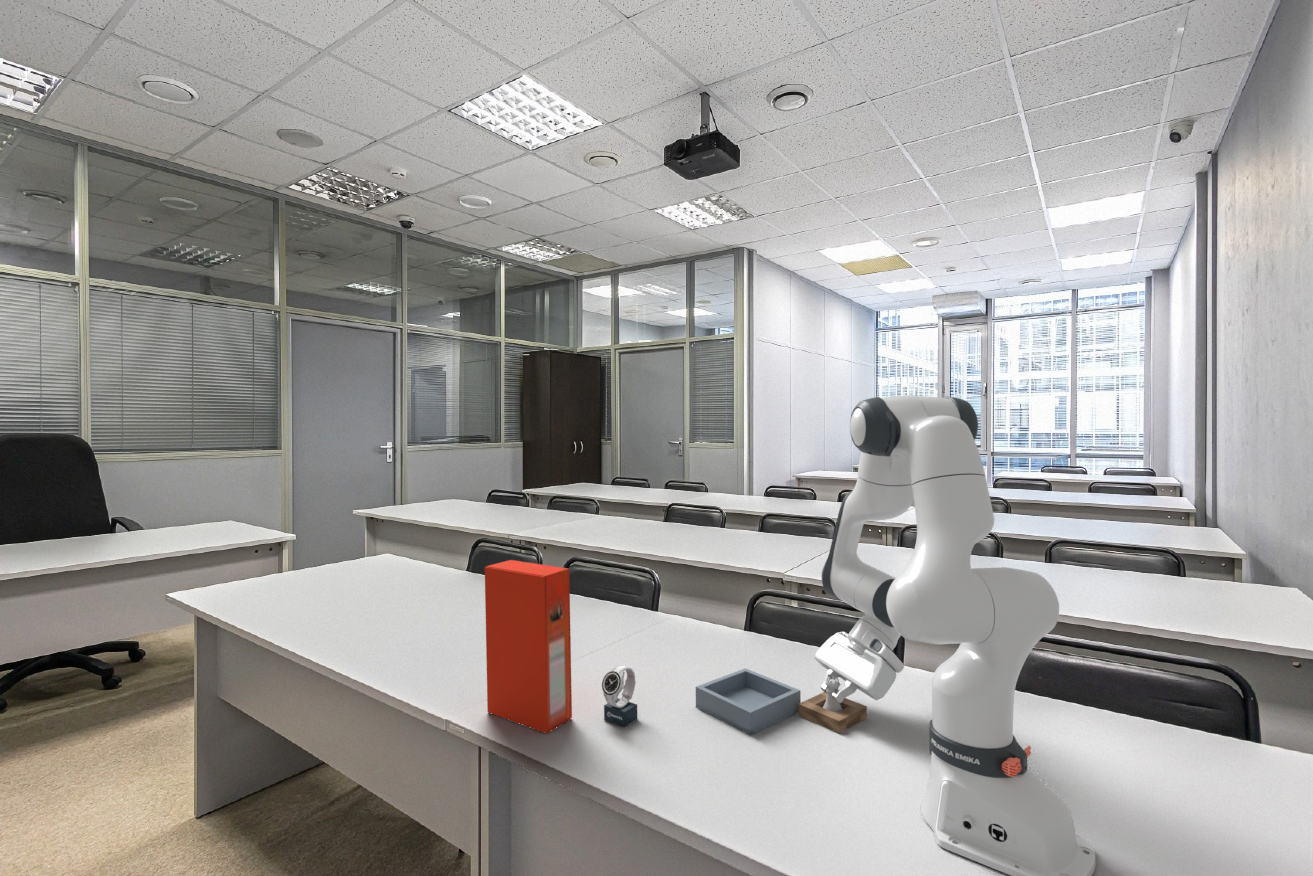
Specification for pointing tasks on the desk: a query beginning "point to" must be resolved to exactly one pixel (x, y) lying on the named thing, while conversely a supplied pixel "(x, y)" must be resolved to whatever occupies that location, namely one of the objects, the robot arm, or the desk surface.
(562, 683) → the file binder
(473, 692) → the desk surface
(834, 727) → the socket block
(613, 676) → the watch
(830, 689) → the rook chess piece
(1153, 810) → the desk surface
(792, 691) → the tray
